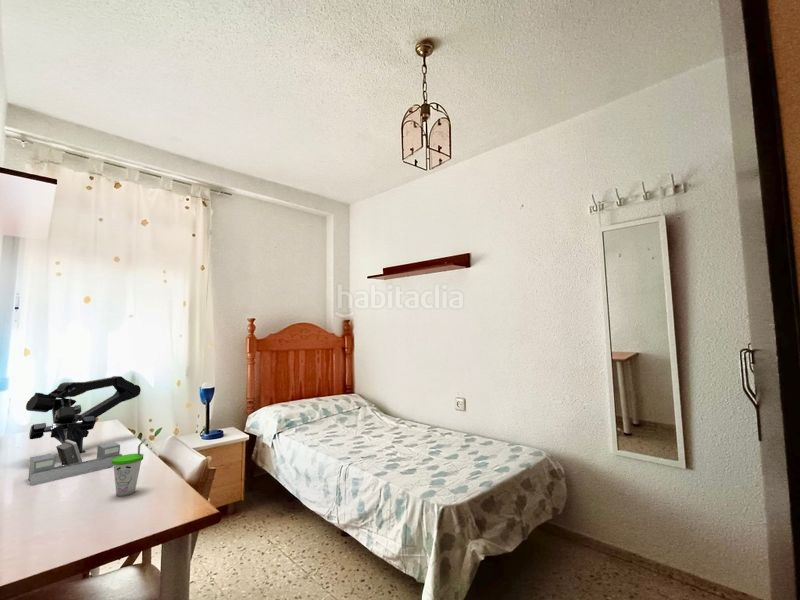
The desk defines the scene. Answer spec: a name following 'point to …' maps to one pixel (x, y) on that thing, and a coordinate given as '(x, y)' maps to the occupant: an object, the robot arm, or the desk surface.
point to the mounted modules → (49, 460)
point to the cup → (127, 472)
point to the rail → (71, 470)
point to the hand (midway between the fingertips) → (66, 445)
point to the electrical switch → (69, 453)
